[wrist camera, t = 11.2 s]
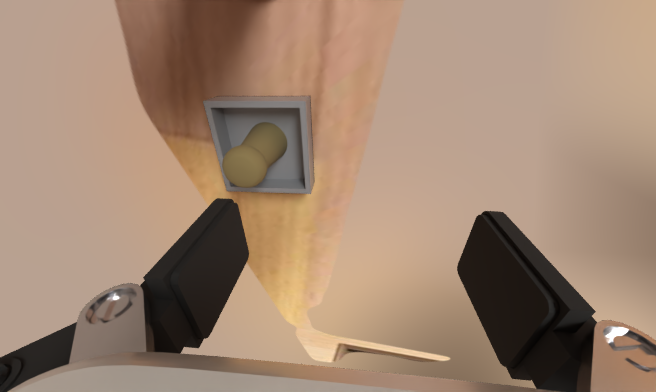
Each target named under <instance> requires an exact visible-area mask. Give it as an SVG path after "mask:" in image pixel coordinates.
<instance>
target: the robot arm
mask: <svg viewBox="0 0 656 392" xmlns="http://www.w3.org/2000/svg"><path fill="white" fill-rule="evenodd" d="M248 257H249V251H248V246H247V242H246V238H245V233H244V229H243V225H242V221H241V216H240V212H239V208H238V204H237V203H234V201H233V200H232V199H220V198H218V199H216V200H214V201H213V203H212V204H211V205H210V206H209V207H208V208H207V209H206V210H205V211H204V212H203V213H202V214H201V216H200V217H199V218H198V219H197V220H196V221H195V222H194V223H193V224H192V225H191V226H190V227H189V229H188V230H187V231H186V232H185V233H184V234H183V235H182V236H181V237H180V238H179V239H178V241H177V242H176V243H175V244H174V245H173V246H172V247H171V248H170V249H169V250H168V251H167V253H166V254H165V255H164V256H163V257H162V258H161V259H160V260H159V261H158V262H157V263H156V264H155V265H154V267H153V268H152V269H151V270H150V271H149V272H148V273H147V274H146V275H145V276H144V277H143V278H144V280H145V281H144V282H143V283H142V284H141V285H140V286H139V285H138V284H133V283H127V284H121V285H118V286H114V287H112V288H110V289H108V290H105V291H104V292H102V293H100V294H99V295H97V296H96V297H94V298H93V299H92V300H91V301H90V302H89V303H88V304H86V306H85V307H84V308H83V309H82V311H81V312H80V315H79V317H78V320H77V322H76V323H74V324H72V325H70V326H67V327H65V328H63V329H61V330H59V331H57V332H54V333H52V334H50V335H48V336H46V337H44V338H42V339H39V340H37V341H35V342H33V343H31V344H29V345H27V346H24V347H22V348H20V349H18V350H16V351H13V352H11V353H9V354H7V355H5V356H3V357H0V392H656V340H654V339H653V338H651V337H650V336H648V335H647V334H645V333H643V332H641V331H639V330H638V329H635V328H633V327H631V326H628V325H626V324H624V323H620V322H616V321H612V320H602V321H600V322H598V323H597V322H596V321H595V320H594V318H593V317H592V315H593V314H594V313H595V310H594V309H593V308H592V307H591V306H590V305H589V304H588V303H587V302H586V301H585V300H584V299H583V297H582V296H581V295H580V294H579V293H578V292H577V291H576V290H575V289H574V288H573V287H572V286H571V285H570V284H569V282H568V281H567V280H566V279H565V278H564V277H563V276H562V275H561V274H560V273H559V272H558V271H557V269H556V268H555V267H554V266H553V265H552V264H551V263H550V262H549V261H548V260H547V259H546V258H545V256H544V255H543V254H542V253H541V252H540V251H539V250H538V249H537V248H536V247H535V246H534V245H533V244H532V242H531V241H530V240H529V239H528V238H527V237H526V236H525V235H524V234H523V233H522V232H521V231H520V230H519V228H518V227H517V226H516V225H515V224H514V223H513V222H512V221H511V220H510V219H509V218H508V217H507V216H506V214H504V213H503V212H494V211H484V212H483V213H482V214H481V215H478V216H477V217H476V220H475V222H474V225H473V227H472V230H471V232H470V235H469V238H468V240H467V243H466V245H465V248H464V250H463V253H462V256H461V258H460V261H459V263H458V267H457V271H458V274H459V277H460V279H461V281H462V283H463V285H464V287H465V289H466V291H467V294H468V296H469V298H470V300H471V302H472V304H473V306H474V309H475V311H476V313H477V315H478V317H479V319H480V321H481V323H482V326H483V327H484V330H485V332H486V334H487V336H488V338H489V340H490V342H491V345H492V347H493V349H494V351H495V353H496V355H497V358H498V360H499V361H500V363H501V364H502V365H503V366H505V367H506V368H507V370H508V372H509V374H510V376H511V378H512V379H520V380H532V381H533V383H534V385H535V386H536V388H537V389H534V388H526V387H518V386H510V385H500V384H490V383H481V382H471V381H462V380H452V379H442V378H433V377H423V376H414V375H404V374H394V373H384V372H374V371H364V370H353V369H344V368H334V367H323V366H313V365H303V364H293V363H282V362H271V361H261V360H249V359H239V358H229V357H218V356H205V355H190V354H180V353H181V351H182V350H183V348H184V347H192V348H199V347H200V345H201V343H202V341H203V339H204V338H208V337H209V335H210V333H211V332H212V330H213V328H214V326H215V324H216V322H217V320H218V318H219V315H220V314H221V312H222V310H223V308H224V306H225V304H226V302H227V300H228V298H229V296H230V294H231V292H232V290H233V288H234V286H235V284H236V282H237V280H238V278H239V276H240V274H241V272H242V270H243V268H244V266H245V264H246V262H247V260H248Z"/></svg>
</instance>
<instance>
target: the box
mask: <svg viewBox="0 0 656 392" xmlns="http://www.w3.org/2000/svg"><path fill="white" fill-rule="evenodd" d="M203 104H204V107H205V111H206V115H207V119H208V122H209V126H210V130H211V133H212V137H213V141H214V145H215V148H216V152H217V156H218V160H219V163H220V167H221V171H222V175H223V178H224V182H225V186H226V190H227V191H241V192H271V193H302V194H311V192H312V189H313V185H314V162H313V142H312V122H311V102H310V96H216V97H213V98H210V99H208V100H205V101H203ZM262 122H269V123H272V124H275V125H276V126H278V127H279V128H280V129H281V130H282V131H283V132H284V134H285V136H286V138H287V150H286V152H285V154H284V155H283V156H282V157H281V158H280V159H278V160H277V161H276V162H275V163H273V164H272V165H271V166H270V167H269V168H267V173H266V176H265V178H264V179H263V181H262V182H261V183H259V184H258V185H256V186H254V187H251V188H242V187H239V186H236V185H234V184H233V183H231V182H230V181H229V180H228V179H227V178H226V176H225V174H224V172H223V168H222V162H223V159H224V156H225V154H226V153H227V152H228V151H229V150H230V149H232V148H233V147H236V146H239V145H241V144H242V142H243V141H244V139H245V138H246V136H247V135H248V133H249V132H250V130H251V129H252V128H253V127H254V126H255V125H256V124H259V123H262Z"/></svg>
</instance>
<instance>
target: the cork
mask: <svg viewBox="0 0 656 392" xmlns="http://www.w3.org/2000/svg"><path fill="white" fill-rule="evenodd" d="M286 150H287V138H286V136H285V134H284V132H283V131H282V130H281V129H280V128H279V127H278V126H276V125H275V124H272V123H269V122H262V123H259V124H256V125H255V126H254V127H253V128H252V129H251V130H250V132H249V133H248V135H247V136H246V138H245V139H244V141H243V142H242V144H241V145H239V146H236V147H233V148H232V149H230V150H229V151H228V152H227V153H226V154H225V156H224V159H223V162H222V168H223V172H224V174H225V176H226V178H227V179H228V180H229V181H230V182H231V183H233V184H234V185H236V186H239V187H242V188H251V187H254V186H256V185H258V184H259V183H261V182H262V181H263V179H264V178H265V176H266V173H267V168H269V167H270V166H271V165H272V164H273V163H275V162H276V161H277V160H278V159H280V158H281V157H282V156H283V155H284V154H285V152H286Z"/></svg>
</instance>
